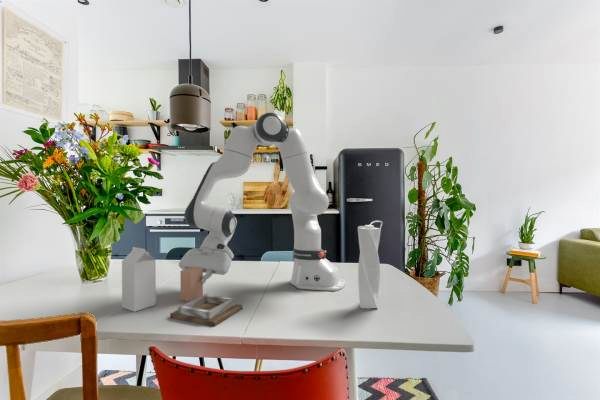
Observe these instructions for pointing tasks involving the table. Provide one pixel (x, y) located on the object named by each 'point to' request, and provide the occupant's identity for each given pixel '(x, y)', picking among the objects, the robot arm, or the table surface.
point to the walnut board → (207, 310)
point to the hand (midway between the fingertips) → (194, 281)
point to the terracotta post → (191, 284)
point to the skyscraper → (369, 265)
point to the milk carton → (138, 280)
